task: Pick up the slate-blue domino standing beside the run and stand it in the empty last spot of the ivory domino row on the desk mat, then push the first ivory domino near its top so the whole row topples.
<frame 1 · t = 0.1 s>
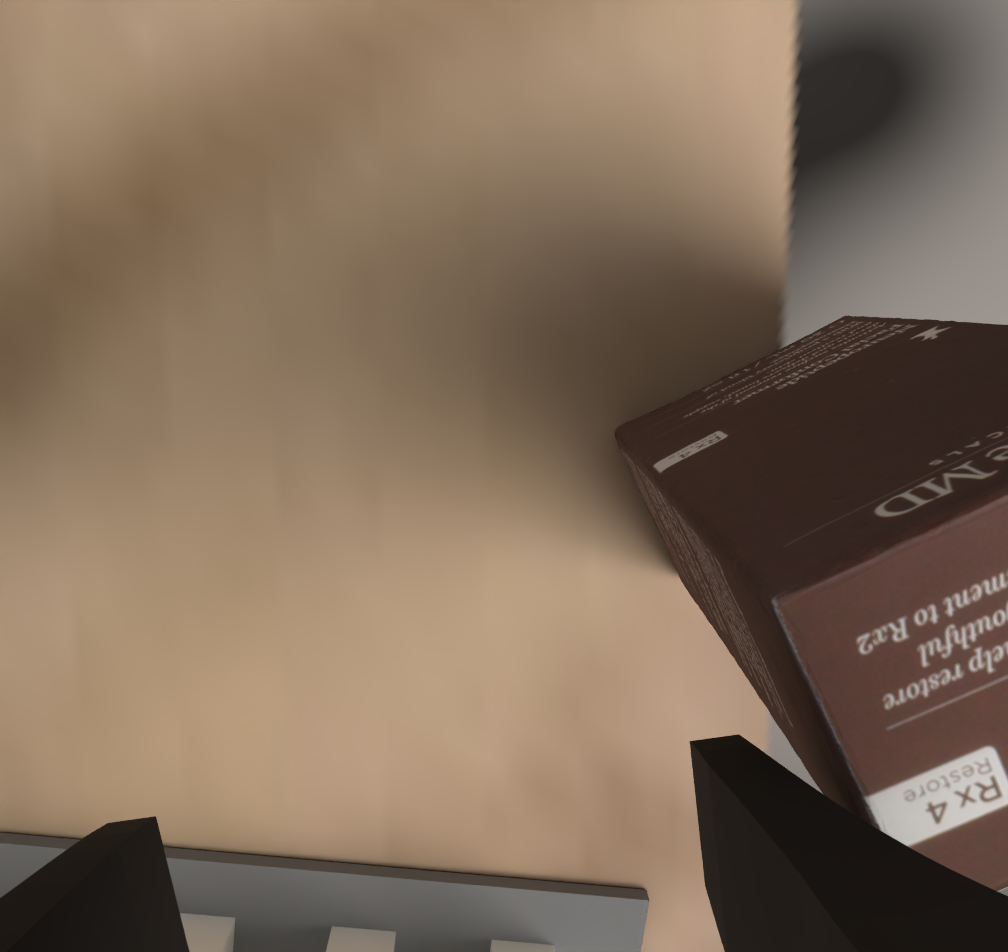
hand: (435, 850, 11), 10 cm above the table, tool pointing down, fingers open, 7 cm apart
box: (754, 446, 21), on the table, touching gripper
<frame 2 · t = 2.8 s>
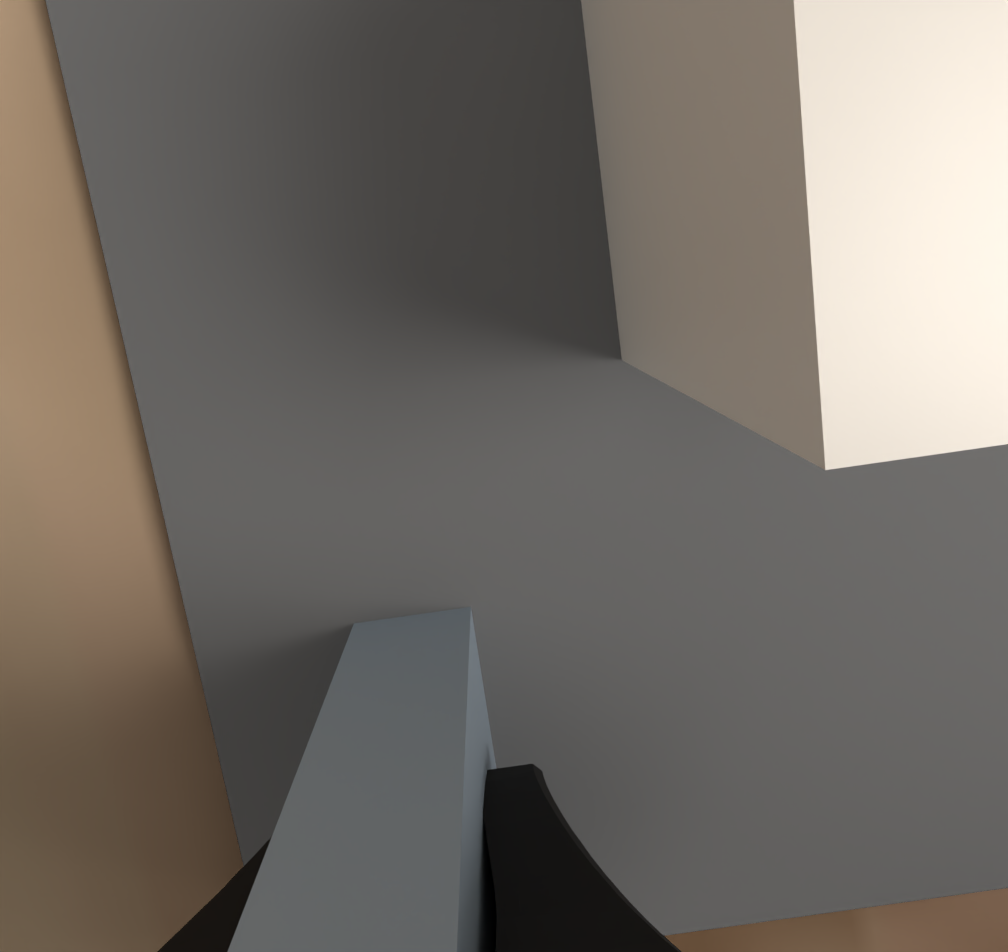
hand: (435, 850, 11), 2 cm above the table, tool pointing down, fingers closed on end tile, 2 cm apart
end tile: (441, 780, 13), resting on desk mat, touching gripper
tile 4: (663, 147, 11), resting on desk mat
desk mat: (979, 381, 12), on the table
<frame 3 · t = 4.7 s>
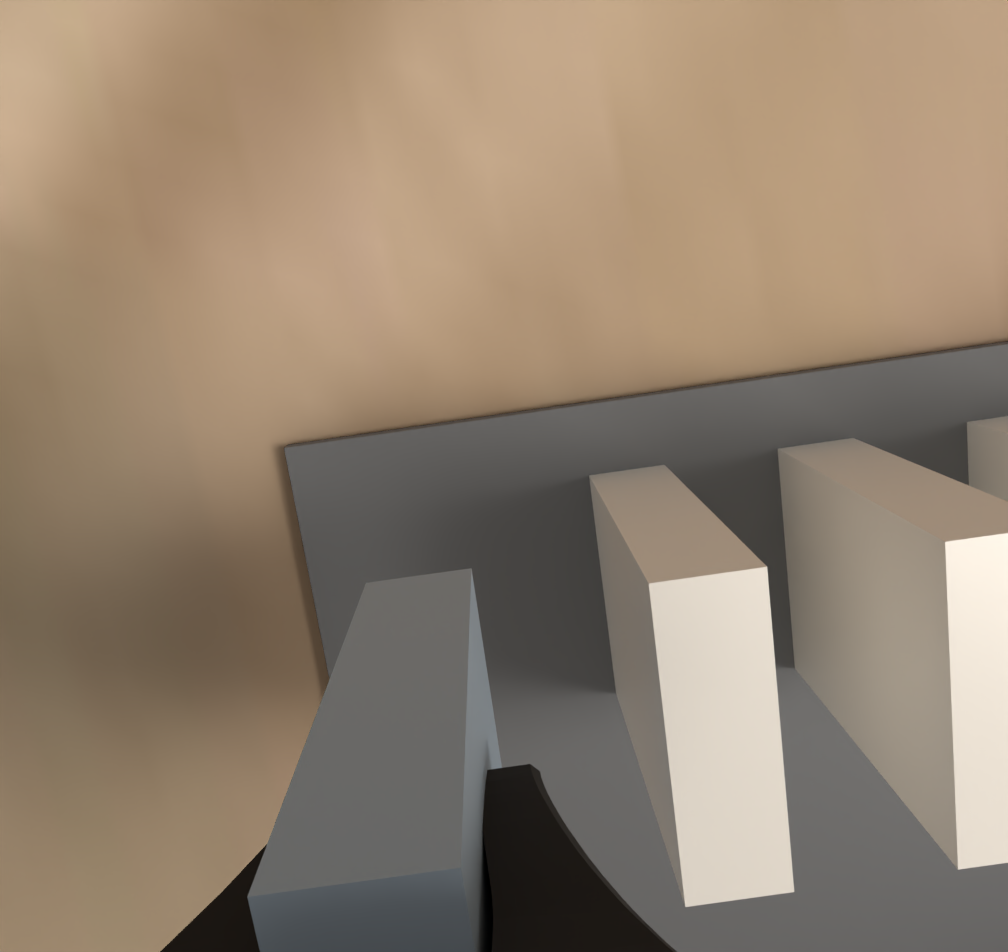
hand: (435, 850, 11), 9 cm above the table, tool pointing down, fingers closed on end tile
end tile: (443, 726, 14), point 6 cm above the table, touching gripper
tile 3: (823, 556, 19), resting on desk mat
tile 4: (639, 582, 19), resting on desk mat
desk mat: (826, 696, 20), on the table
tile 2: (1007, 530, 19), resting on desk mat
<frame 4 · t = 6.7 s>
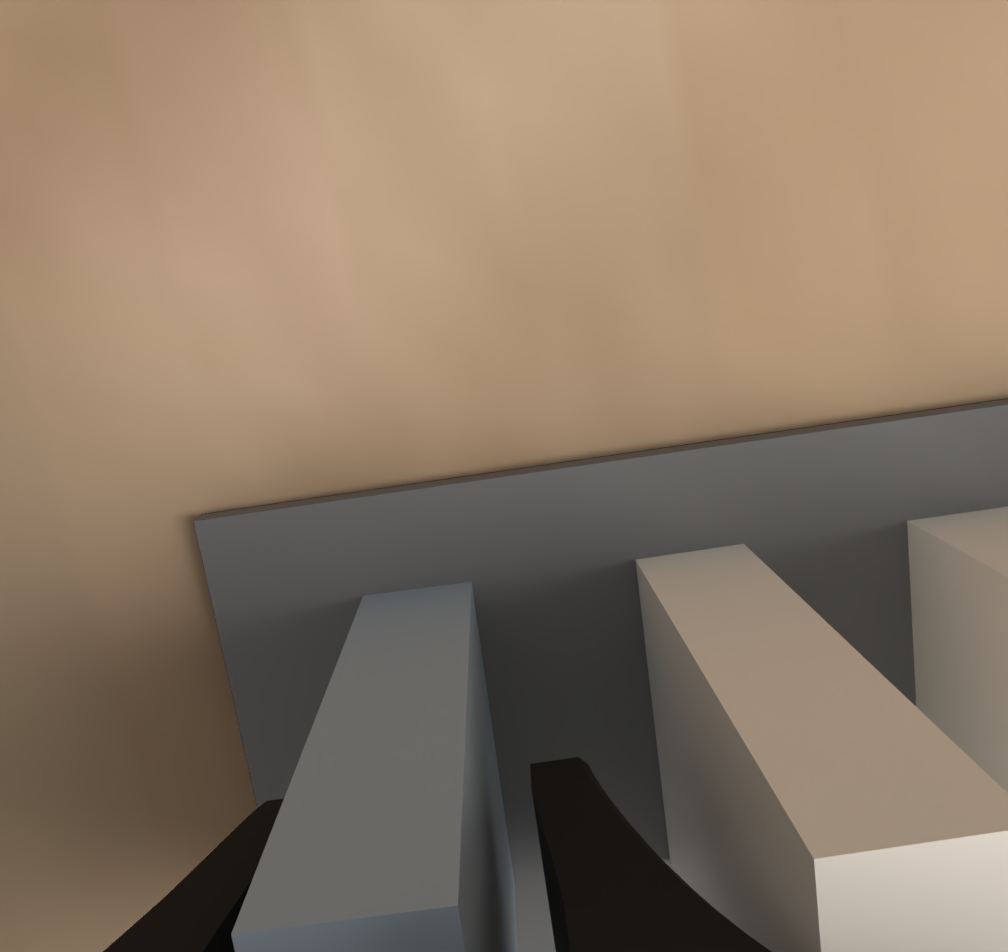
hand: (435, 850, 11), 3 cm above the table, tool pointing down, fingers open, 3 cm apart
end tile: (441, 743, 14), resting on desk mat
tile 3: (967, 671, 14), resting on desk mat
tile 4: (705, 708, 14), resting on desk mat, touching gripper
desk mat: (961, 858, 15), on the table
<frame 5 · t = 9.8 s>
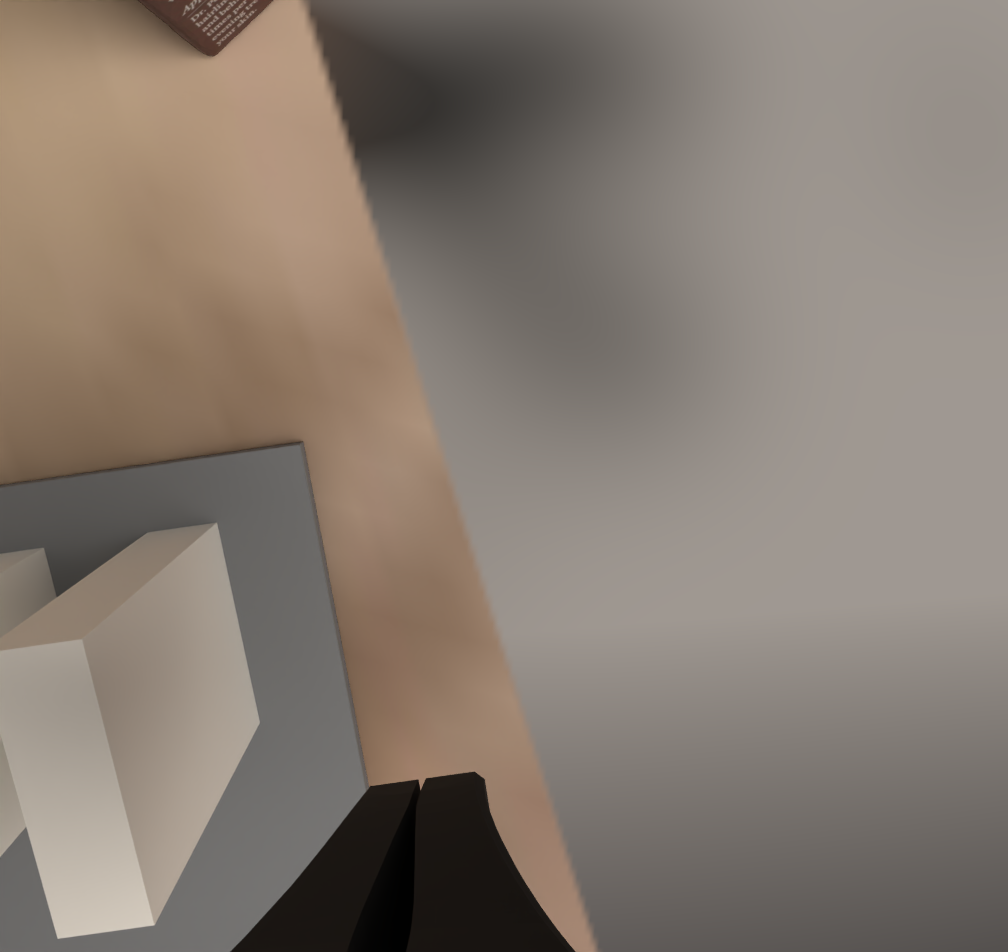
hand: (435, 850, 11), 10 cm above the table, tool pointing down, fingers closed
tile 1: (205, 629, 21), resting on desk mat
tile 2: (36, 654, 21), resting on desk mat
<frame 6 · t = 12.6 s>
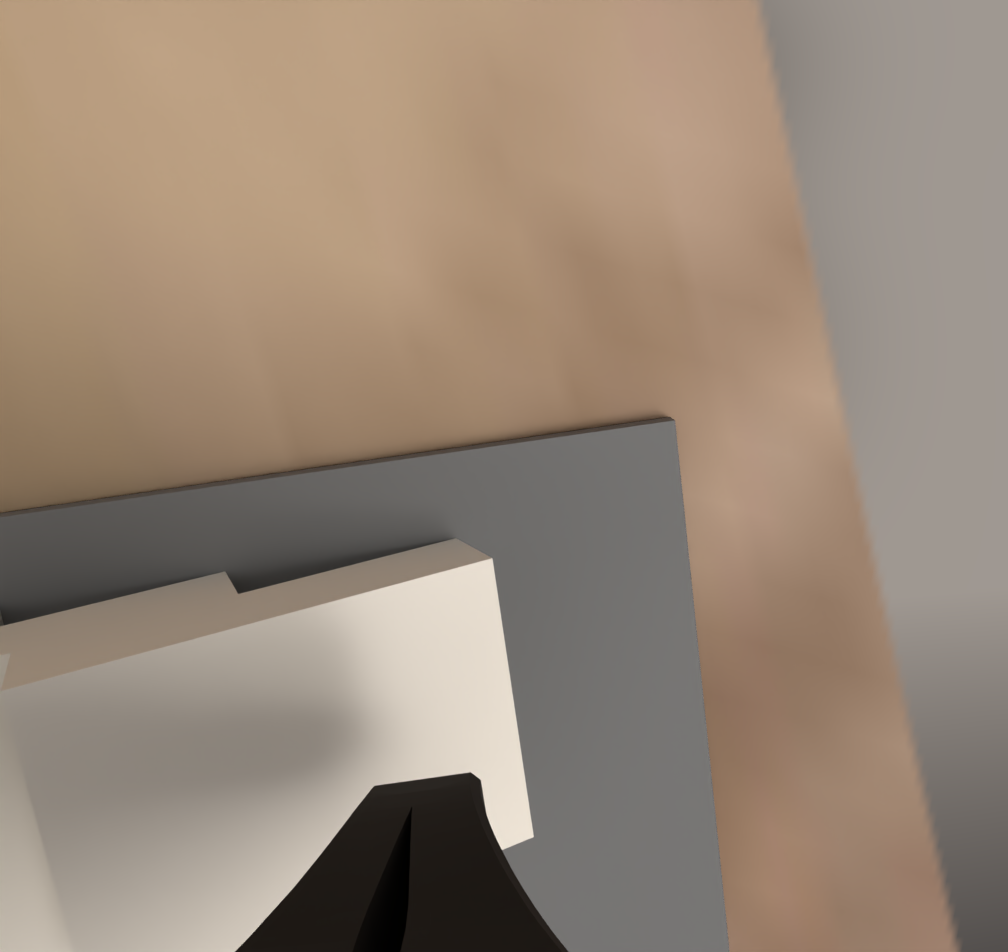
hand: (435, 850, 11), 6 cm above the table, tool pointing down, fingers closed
tile 1: (494, 685, 15), point 1 cm above the table, tilted 67°, touching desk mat, tile 2
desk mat: (146, 878, 17), on the table
tile 2: (260, 718, 15), point 1 cm above the table, tilted 67°, touching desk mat, tile 1, tile 3
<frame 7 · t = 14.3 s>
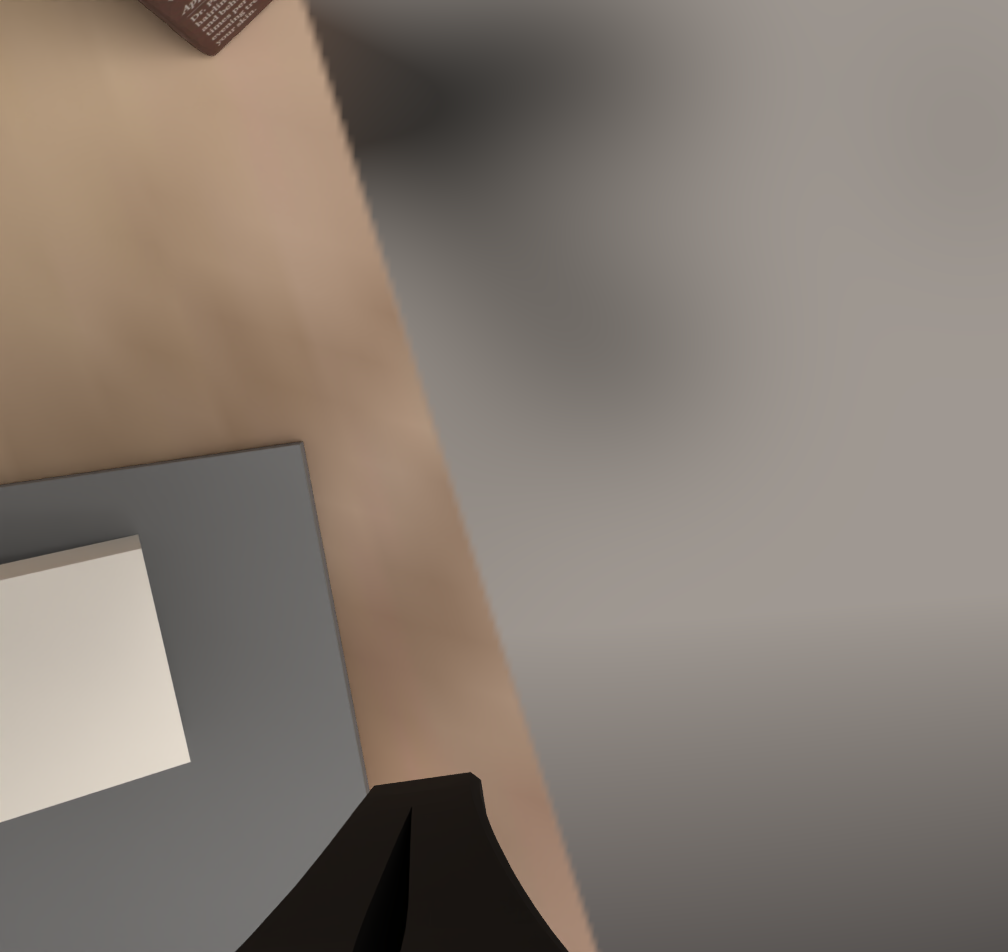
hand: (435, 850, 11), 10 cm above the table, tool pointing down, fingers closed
tile 1: (164, 646, 20), point 1 cm above the table, tilted 67°, touching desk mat, tile 2
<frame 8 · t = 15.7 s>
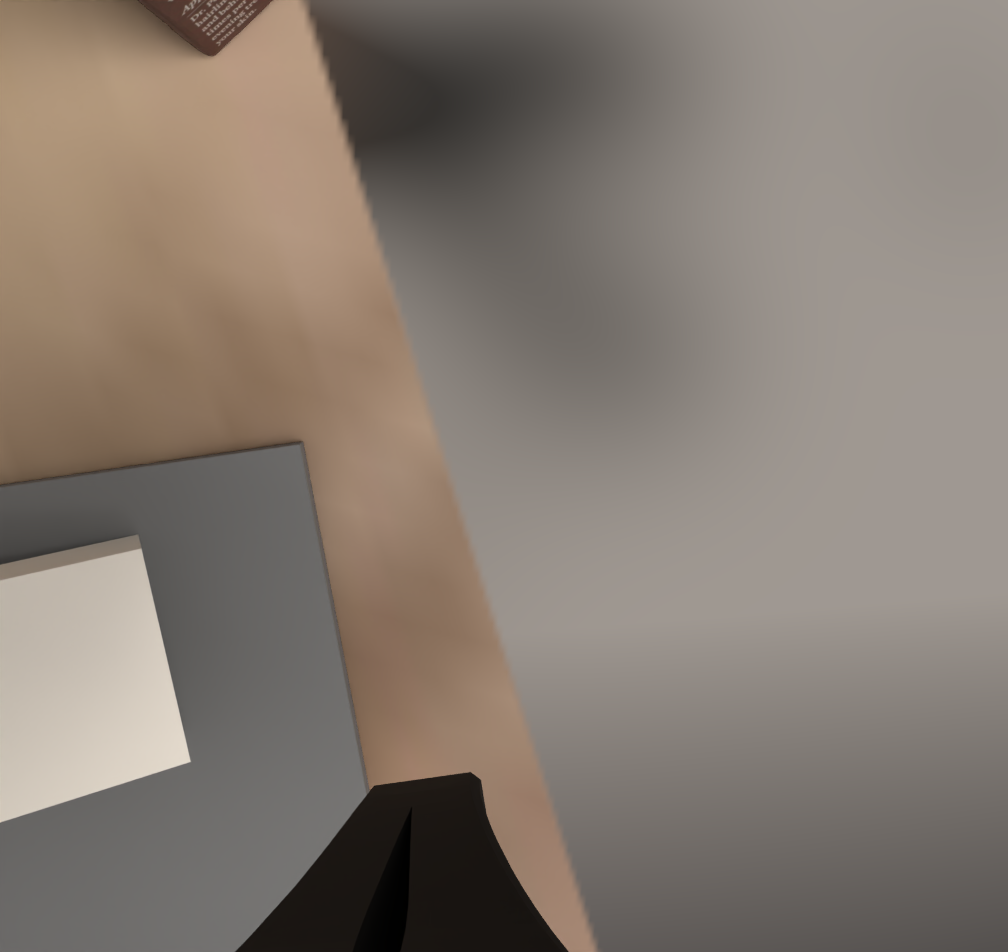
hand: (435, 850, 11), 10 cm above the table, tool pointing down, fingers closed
tile 1: (164, 646, 20), point 1 cm above the table, tilted 67°, touching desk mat, tile 2
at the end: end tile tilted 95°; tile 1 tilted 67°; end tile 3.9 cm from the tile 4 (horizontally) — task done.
